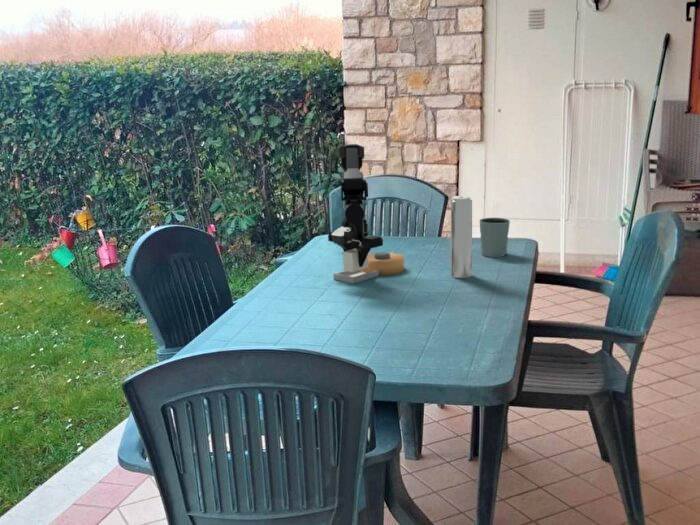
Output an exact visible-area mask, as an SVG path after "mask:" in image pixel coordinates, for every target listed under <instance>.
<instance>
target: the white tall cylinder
mask: <svg viewBox="0 0 700 525" xmlns="http://www.w3.org/2000/svg"><path fill="white" fill-rule="evenodd" d="M450 276H451V277H452V278H455V279H468V278H469V279H470V278H471V277H472V276H473V199H471V196H468V195H454V196H452V197H451V199H450Z"/></svg>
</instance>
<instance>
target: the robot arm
mask: <svg viewBox="0 0 700 525" xmlns="http://www.w3.org/2000/svg"><path fill="white" fill-rule="evenodd" d="M338 154H339V155H338V156H339V158H338V160H339V161H341V168H342V169H343V170H344V171H345V172H344V173H342V180H340V192H341V193H340V194H341V202H344V213H343V220H341V226H340V227H338V228H337V229H336V230H333V231H330V232H329V234H328V235H327V237H328V238H327V239H328V240H327V241H328V242H332V243H333V244H335V245H337V246H339V247H340V248H341V249H342V250H343V251H347V250H351V249H354V248H356V249H357V251H358V259H359V267H362V266H363V264H364V262H365V259H366V257H367V255H368V254H370V251H371V249H375V248H378V247H382V246H384V239H383V237H382V236H380V235H379V236H378V235H373V234H372V235H369V234H368V232H369V231H368V230H369V229H368V228H369V226H368V222H367V219H366V218H364V217H365V211H364V201H367V198H368V197H369V186H368V182H367V180H366V179H364V173H363V172H362V171H360V170H361V169H362V166H363V160H365V147H364V146H363V145H360V144H358V143H346V144H344V145H342V146H339V147H338ZM343 251H342V254H341V255H343Z"/></svg>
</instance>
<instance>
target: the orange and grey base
mask: <svg viewBox="0 0 700 525" xmlns="http://www.w3.org/2000/svg"><path fill="white" fill-rule="evenodd" d="M404 270H405V256H404V255H402V254H399V253H396V252H395V253H394V252H383V251H382V252H375V253H368V268H365V269H362V270H358V271H355V272H350V271H345V270H342V271H339V272H338V271H337V272H334V273H333V280H335V281H340V282H345V283H349V284H356V283H360V282H363V281H364V282H365V281H367V280H370V279H373V278H377V277H379V276H389V275H396V274H399V273H402V272H404Z"/></svg>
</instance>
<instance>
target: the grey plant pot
mask: <svg viewBox="0 0 700 525" xmlns="http://www.w3.org/2000/svg"><path fill="white" fill-rule="evenodd" d="M510 222H511V221H510V220H509V219H508V218H502V217H485V218H481V219H479V233H480V254H482V255H481V256H483V257H486V256H489V257H488V258H498V257H497V256H502V257H504V256H503V255H505V256H506V255H507V249H508V248H507V247H508V246H507V245H508V239H509V236H508V235H509V230H510Z"/></svg>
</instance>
